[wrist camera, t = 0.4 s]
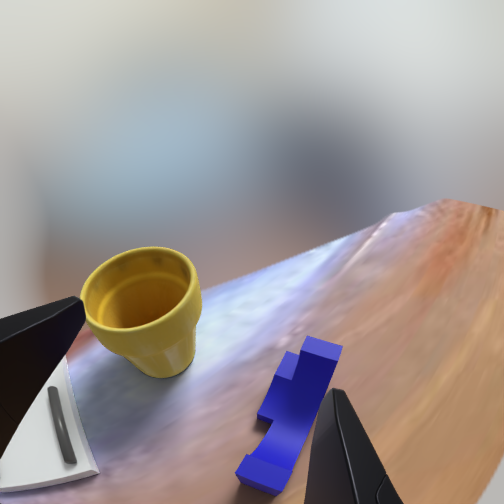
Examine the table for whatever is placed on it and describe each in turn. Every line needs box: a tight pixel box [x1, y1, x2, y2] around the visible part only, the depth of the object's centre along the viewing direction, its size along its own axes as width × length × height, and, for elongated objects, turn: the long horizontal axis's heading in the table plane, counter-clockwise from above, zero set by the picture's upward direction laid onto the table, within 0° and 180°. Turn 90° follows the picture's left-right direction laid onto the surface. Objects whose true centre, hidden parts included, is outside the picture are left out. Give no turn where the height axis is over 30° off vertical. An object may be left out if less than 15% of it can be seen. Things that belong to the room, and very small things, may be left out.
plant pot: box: [80, 247, 202, 378], centre depth 23 cm, size 10×10×10 cm
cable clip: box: [235, 336, 343, 496], centre depth 18 cm, size 12×4×6 cm, turn 154°
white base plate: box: [0, 354, 100, 493], centre depth 15 cm, size 16×14×5 cm
